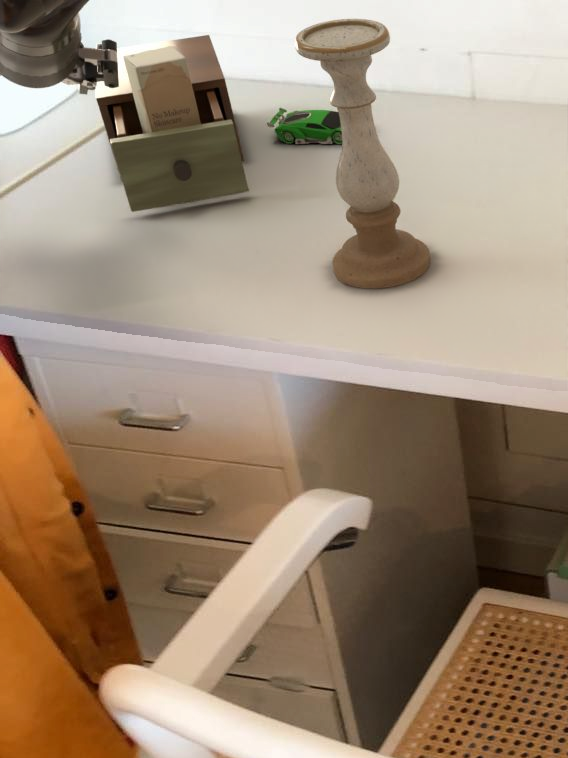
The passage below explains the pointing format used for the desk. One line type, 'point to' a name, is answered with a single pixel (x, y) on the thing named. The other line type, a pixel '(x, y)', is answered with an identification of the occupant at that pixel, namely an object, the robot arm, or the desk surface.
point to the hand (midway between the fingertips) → (31, 77)
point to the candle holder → (363, 159)
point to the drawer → (178, 157)
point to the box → (162, 89)
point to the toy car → (308, 126)
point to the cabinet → (201, 73)
